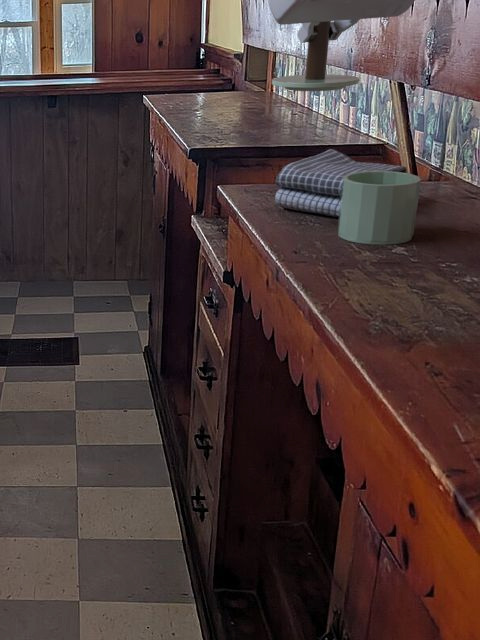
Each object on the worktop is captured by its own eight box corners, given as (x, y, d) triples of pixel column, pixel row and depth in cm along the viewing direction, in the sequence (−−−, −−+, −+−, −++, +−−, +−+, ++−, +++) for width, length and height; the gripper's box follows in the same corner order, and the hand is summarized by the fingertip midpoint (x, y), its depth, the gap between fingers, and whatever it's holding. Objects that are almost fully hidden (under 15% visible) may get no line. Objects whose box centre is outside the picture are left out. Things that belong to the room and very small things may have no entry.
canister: (420, 231, 128) (428, 173, 125) (401, 248, 121) (409, 187, 118) (350, 223, 134) (356, 168, 131) (328, 239, 127) (333, 181, 123)
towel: (269, 211, 144) (273, 163, 141) (323, 190, 155) (328, 146, 152) (357, 224, 134) (363, 173, 131) (408, 201, 145) (415, 154, 142)
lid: (369, 84, 118) (377, 12, 115) (342, 93, 110) (350, 16, 106) (289, 82, 125) (294, 14, 121) (258, 91, 117) (263, 18, 113)
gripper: (434, -69, 107) (369, 15, 119) (296, -64, 101) (242, 24, 113) (457, -31, 105) (388, 50, 117) (317, -24, 99) (260, 61, 111)
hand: (315, 37), depth 115 cm, fingers closed on lid, 2 cm apart
